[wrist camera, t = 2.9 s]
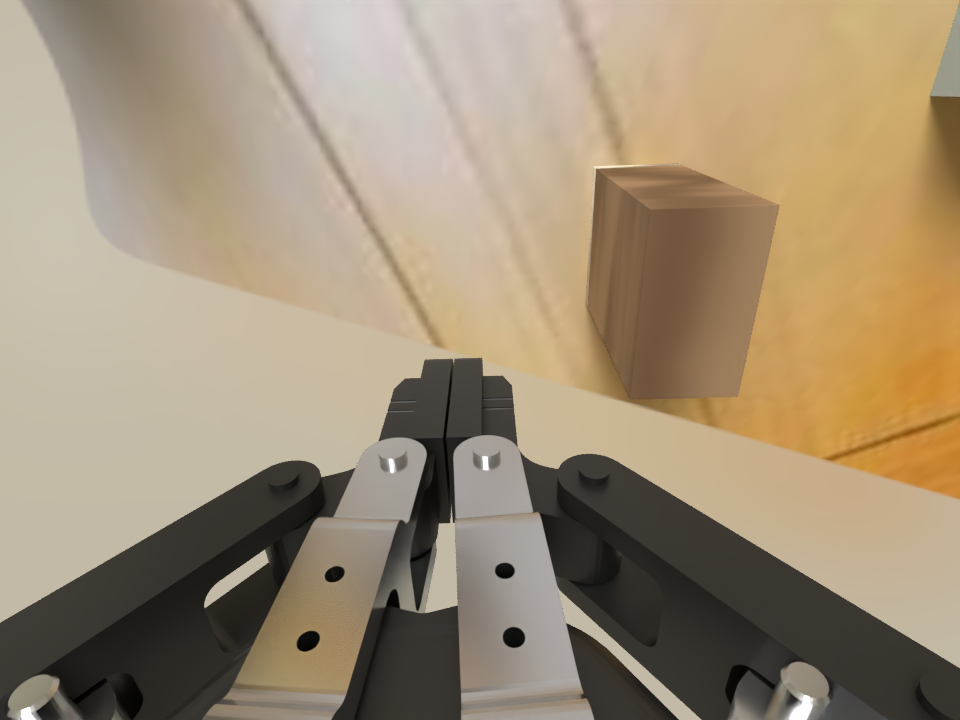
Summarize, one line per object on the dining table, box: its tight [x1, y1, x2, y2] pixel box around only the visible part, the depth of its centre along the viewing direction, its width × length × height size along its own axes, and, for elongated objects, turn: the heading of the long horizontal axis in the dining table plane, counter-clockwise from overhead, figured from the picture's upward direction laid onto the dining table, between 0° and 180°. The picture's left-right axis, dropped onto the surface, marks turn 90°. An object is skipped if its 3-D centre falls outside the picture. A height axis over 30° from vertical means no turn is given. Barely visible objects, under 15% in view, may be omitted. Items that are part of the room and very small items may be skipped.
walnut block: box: [585, 163, 780, 399], centre depth 23 cm, size 4×7×10 cm, turn 2°
